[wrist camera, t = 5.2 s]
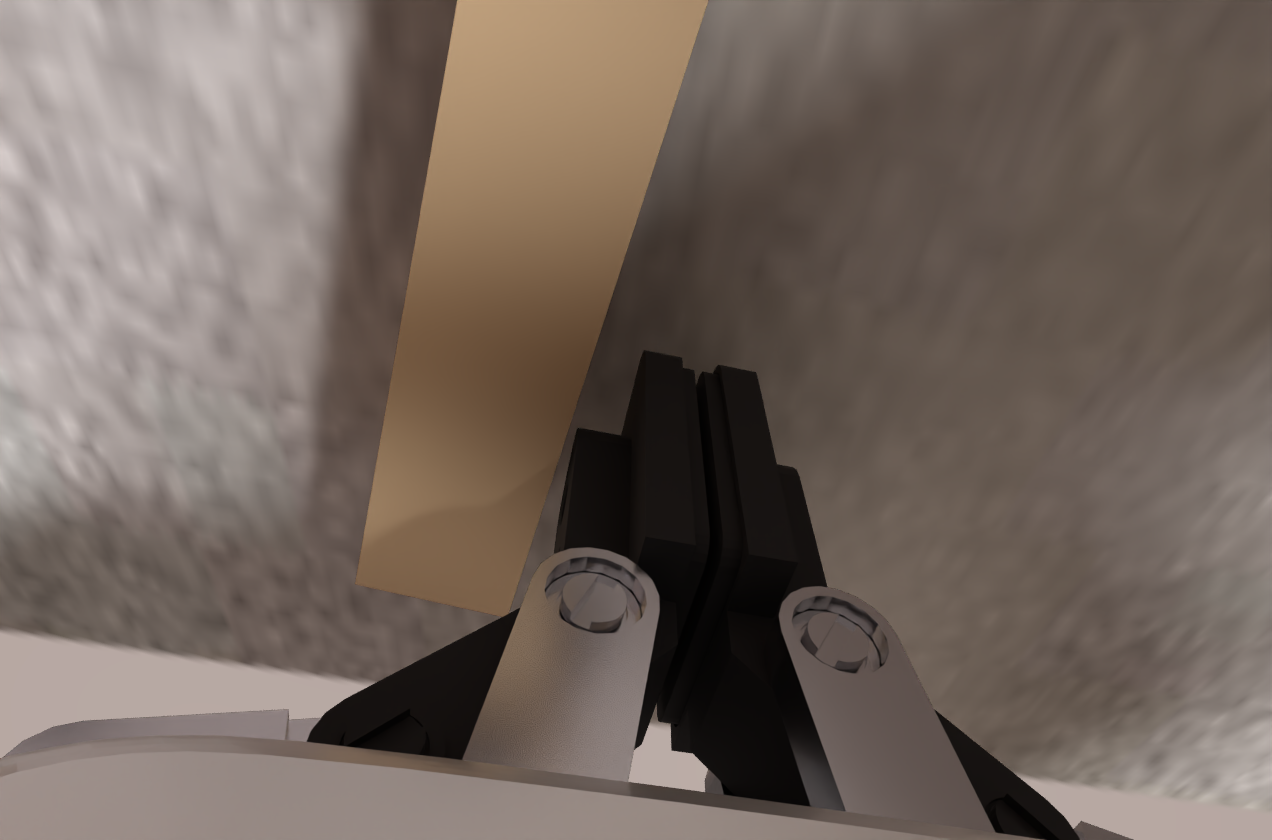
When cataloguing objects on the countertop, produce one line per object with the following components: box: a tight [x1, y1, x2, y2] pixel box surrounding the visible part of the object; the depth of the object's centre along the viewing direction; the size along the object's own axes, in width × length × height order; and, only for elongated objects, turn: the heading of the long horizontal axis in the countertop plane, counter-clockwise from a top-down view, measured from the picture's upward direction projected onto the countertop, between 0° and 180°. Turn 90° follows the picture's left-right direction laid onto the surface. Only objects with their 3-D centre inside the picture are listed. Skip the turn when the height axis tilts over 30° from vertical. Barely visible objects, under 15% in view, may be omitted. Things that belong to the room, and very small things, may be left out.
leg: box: [355, 0, 709, 617], centre depth 10 cm, size 13×3×2 cm, turn 163°
